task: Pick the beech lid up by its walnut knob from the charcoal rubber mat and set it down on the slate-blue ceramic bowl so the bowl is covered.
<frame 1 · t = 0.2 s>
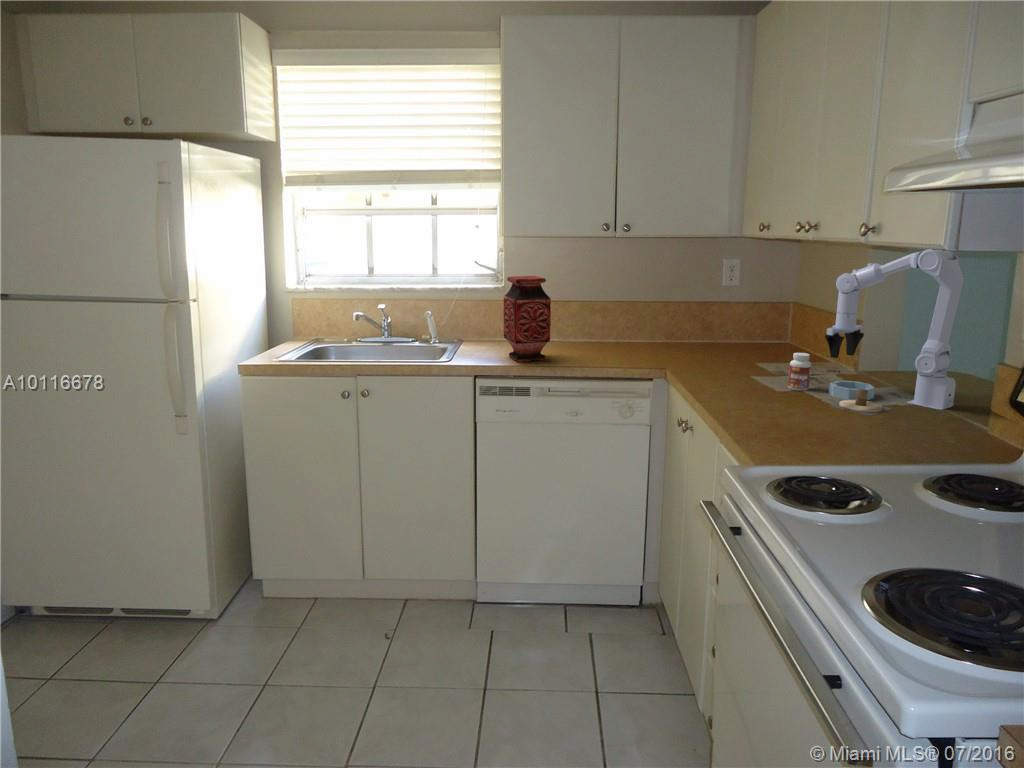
hand: (842, 356, 230), 10 cm above the counter, fingers open, 7 cm apart
lid: (860, 407, 208), resting on mat
bowl: (850, 396, 221), on the counter, touching mat
mat: (860, 408, 208), on the counter
vase: (526, 359, 276), on the counter
pill bottle: (798, 389, 231), on the counter
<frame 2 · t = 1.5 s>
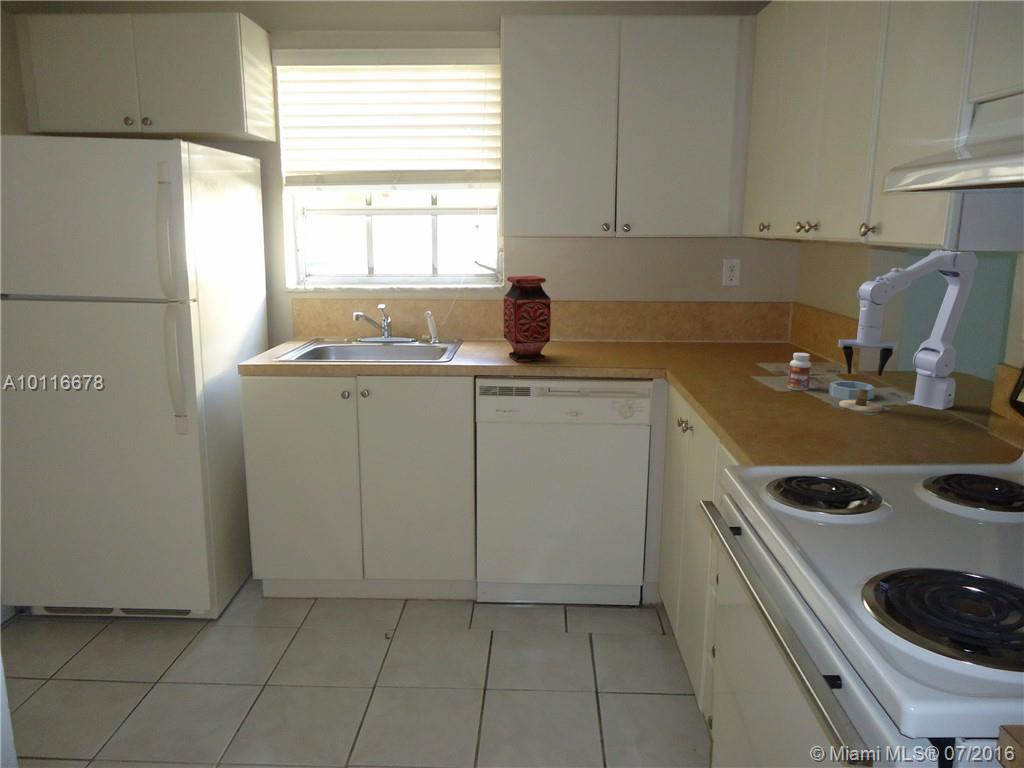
hand: (864, 374, 205), 10 cm above the counter, fingers open, 7 cm apart
nothing on the counter moved.
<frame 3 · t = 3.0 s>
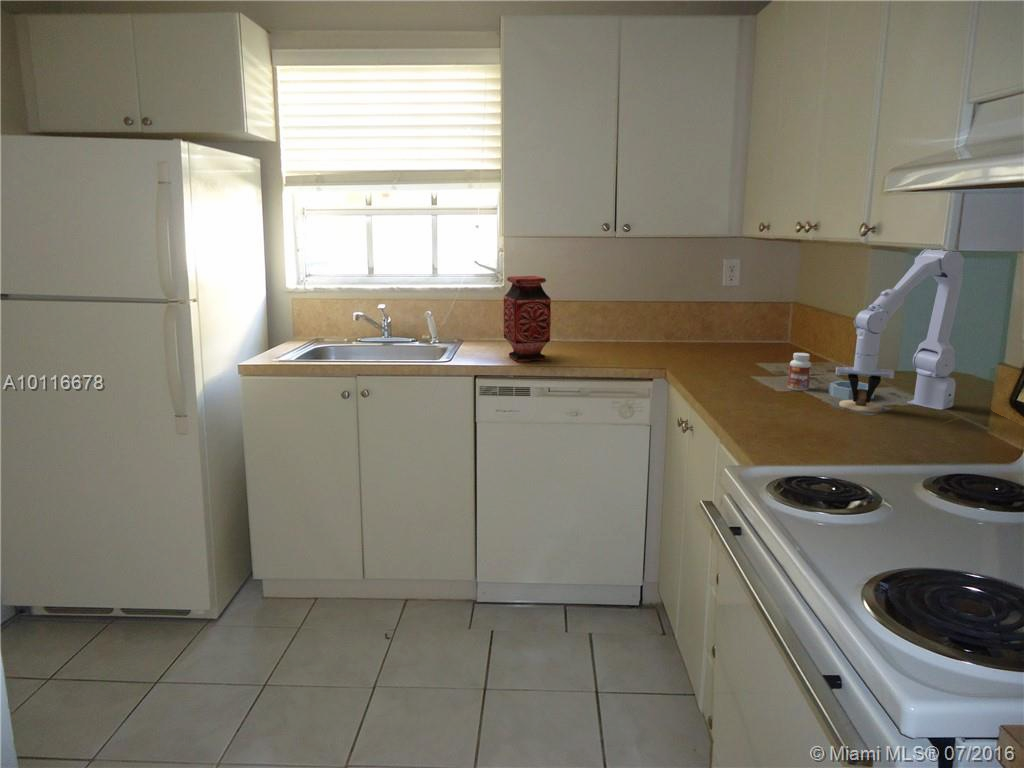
hand: (861, 401, 207), 2 cm above the counter, fingers closed on lid, 3 cm apart
lid: (860, 407, 208), resting on mat, touching gripper
everything else where it was.
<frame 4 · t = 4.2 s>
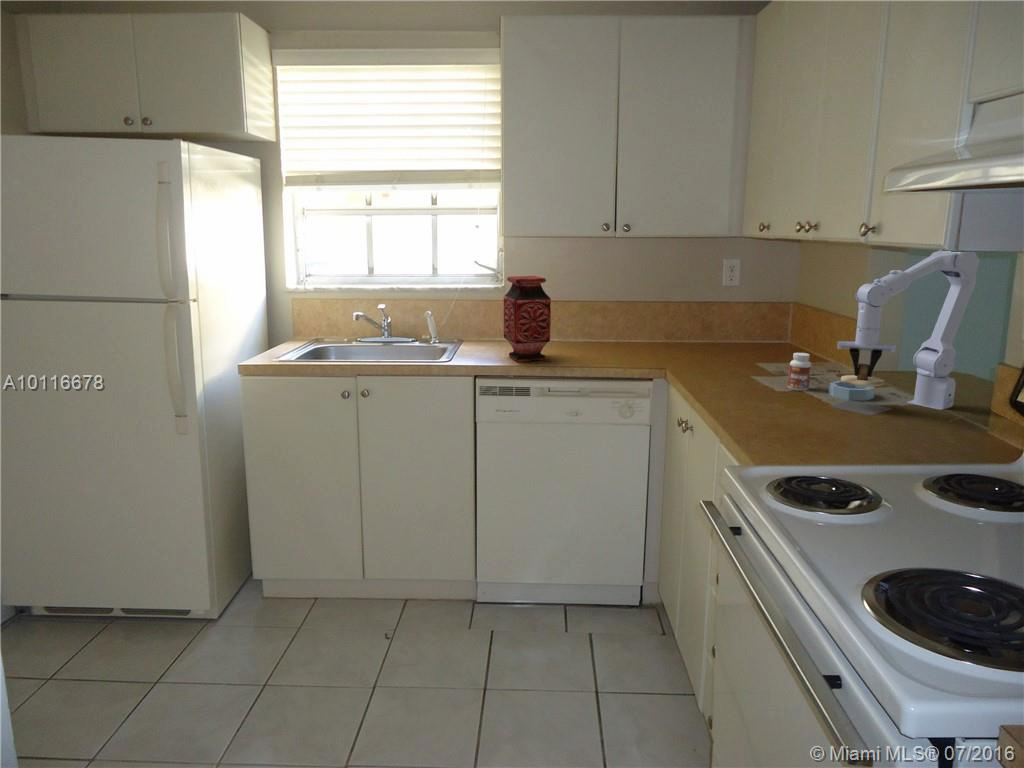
hand: (862, 375, 208), 9 cm above the counter, fingers closed on lid, 3 cm apart
lid: (861, 382, 208), point 7 cm above the counter, touching gripper
everything else where it was.
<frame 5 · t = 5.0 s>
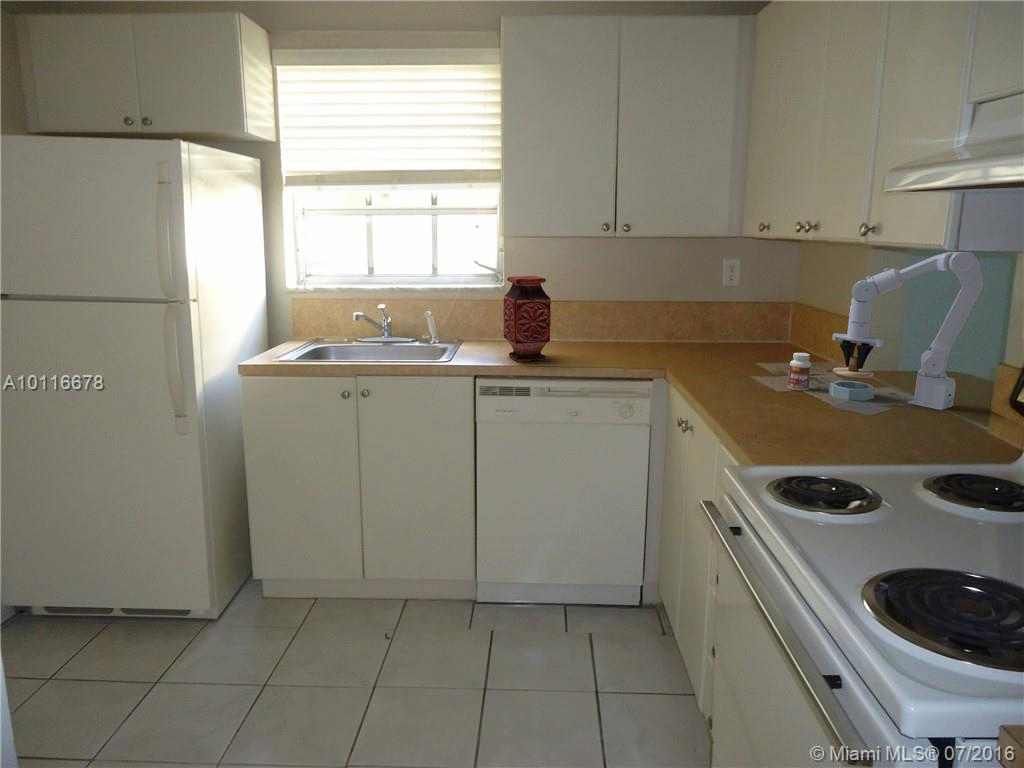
hand: (854, 367, 219), 9 cm above the counter, fingers closed on lid, 3 cm apart
lid: (852, 373, 219), point 7 cm above the counter, touching gripper
everything else where it was.
when the fingers open (6 cm above the counter, at t = 5.7 s): lid drops 1 cm, resting on bowl.
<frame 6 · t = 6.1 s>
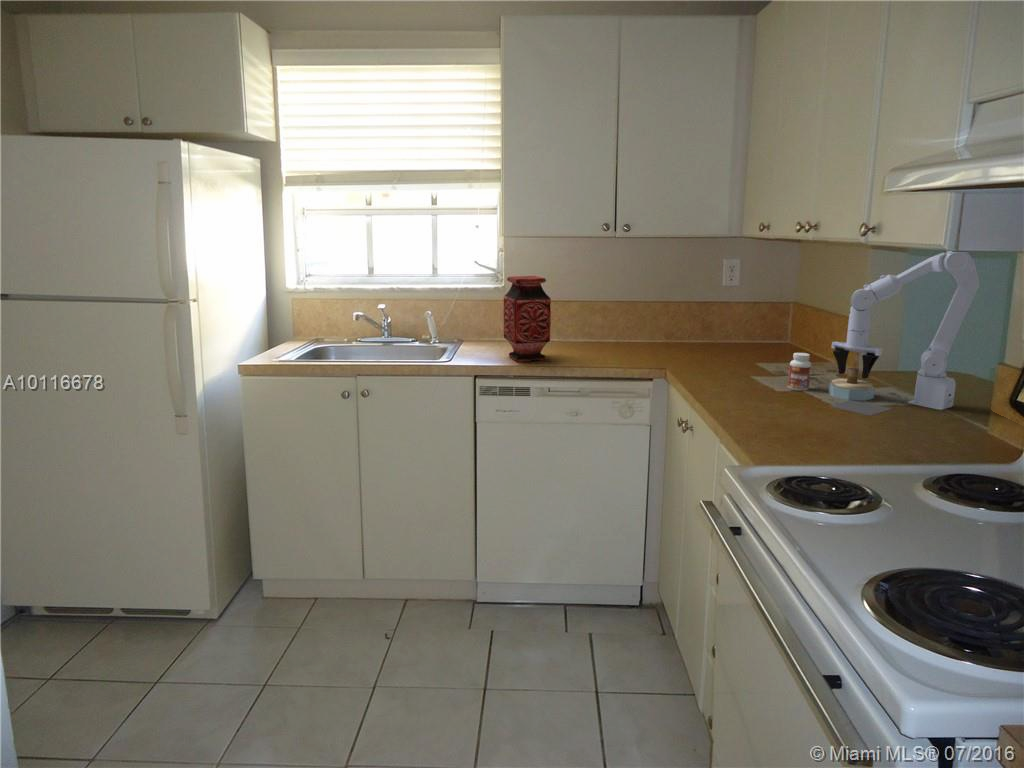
hand: (853, 375, 220), 6 cm above the counter, fingers open, 7 cm apart
lid: (851, 385, 220), point 3 cm above the counter, touching bowl
bowl: (850, 396, 221), on the counter, touching lid, mat
everything else where it was.
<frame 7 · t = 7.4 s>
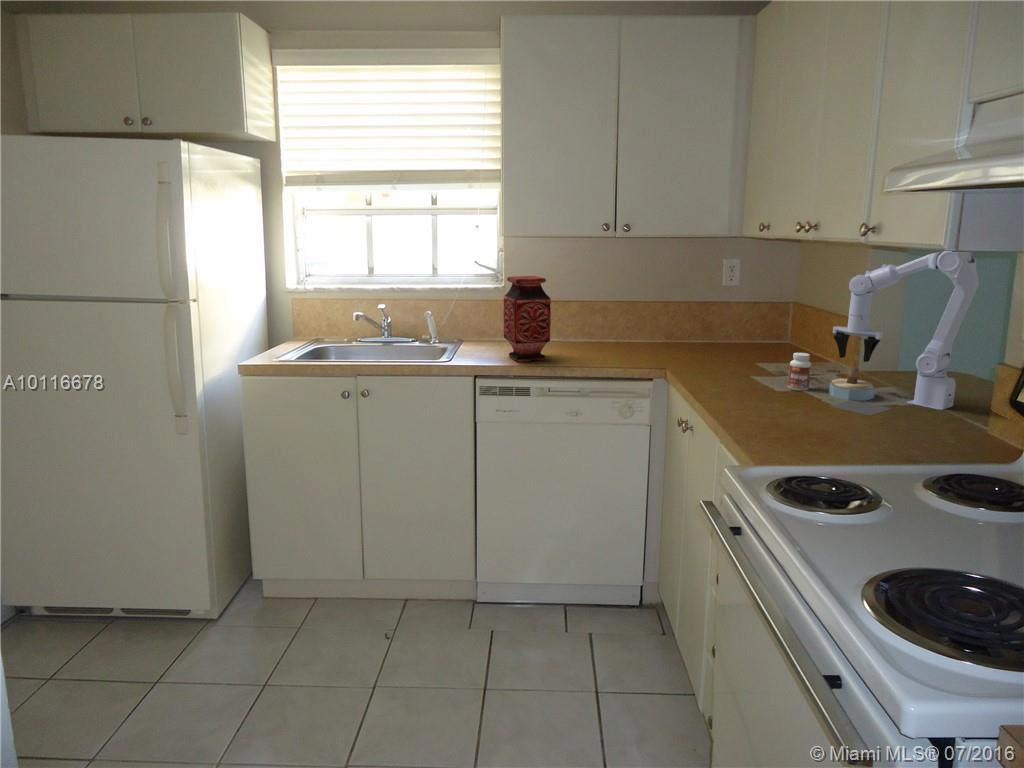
hand: (854, 359, 226), 10 cm above the counter, fingers open, 7 cm apart
bowl: (850, 396, 221), on the counter, touching lid
everything else where it was.
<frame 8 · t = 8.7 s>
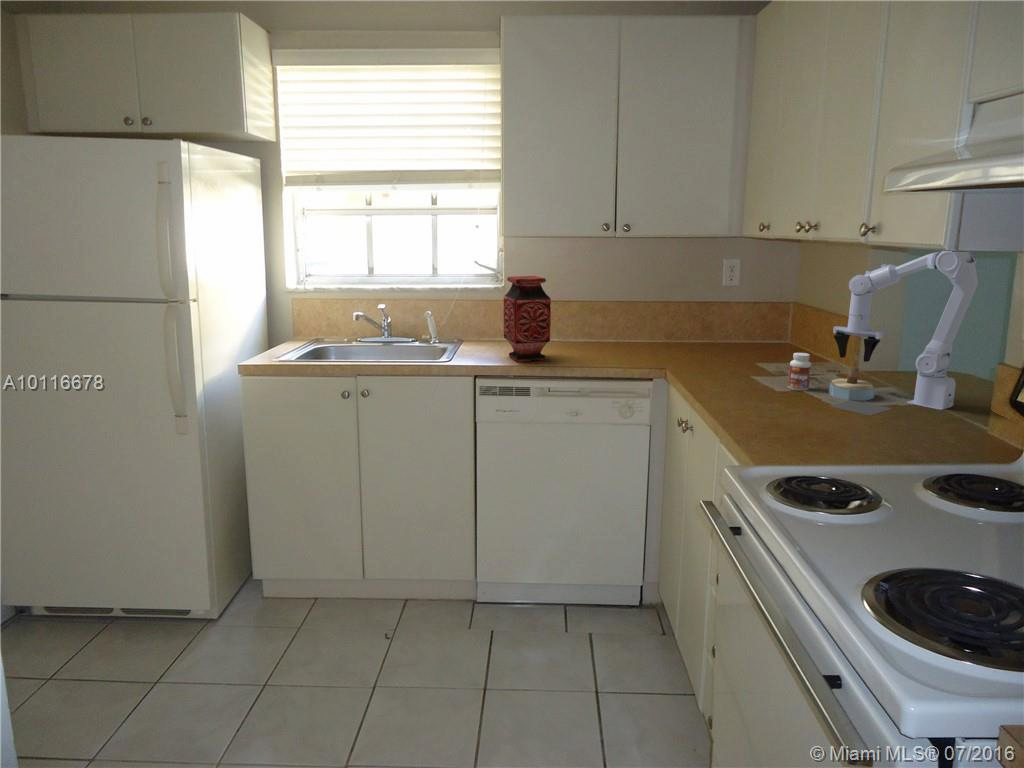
hand: (854, 359, 226), 10 cm above the counter, fingers open, 7 cm apart
nothing on the counter moved.
at the end: lid 0.4 cm off-centre on the bowl, point 3.5 cm above the bowl's base; lid touching bowl; the gripper is holding nothing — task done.
